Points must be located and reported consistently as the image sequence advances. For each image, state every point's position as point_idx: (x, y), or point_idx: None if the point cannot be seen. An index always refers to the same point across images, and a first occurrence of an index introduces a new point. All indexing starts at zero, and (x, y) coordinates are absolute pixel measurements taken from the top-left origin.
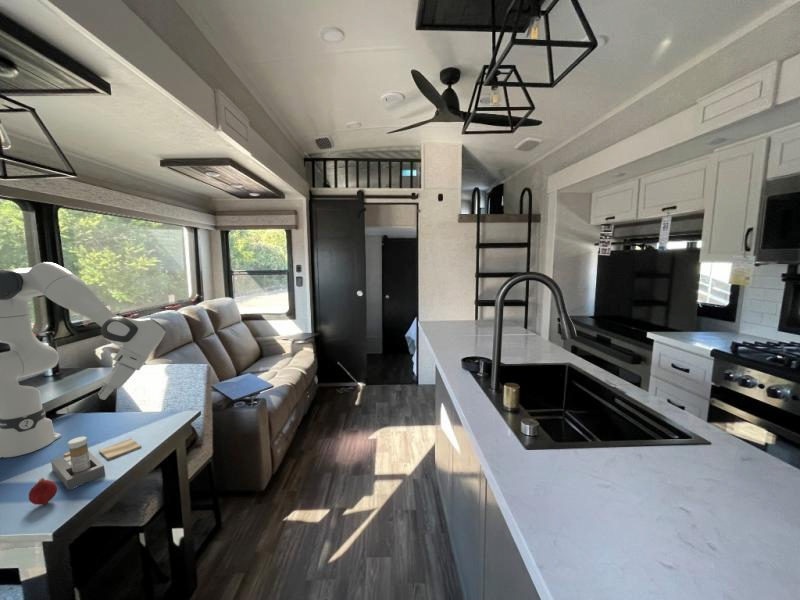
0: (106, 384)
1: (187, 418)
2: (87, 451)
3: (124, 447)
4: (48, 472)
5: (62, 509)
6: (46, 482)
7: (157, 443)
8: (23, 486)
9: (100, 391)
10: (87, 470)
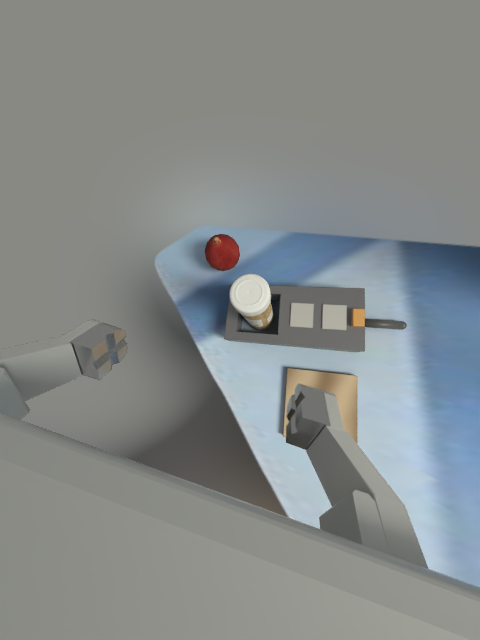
0: (346, 517)
1: None
2: (244, 316)
3: None
4: None
5: (188, 273)
6: (211, 248)
7: (266, 465)
8: (329, 253)
9: (301, 407)
10: (233, 315)
